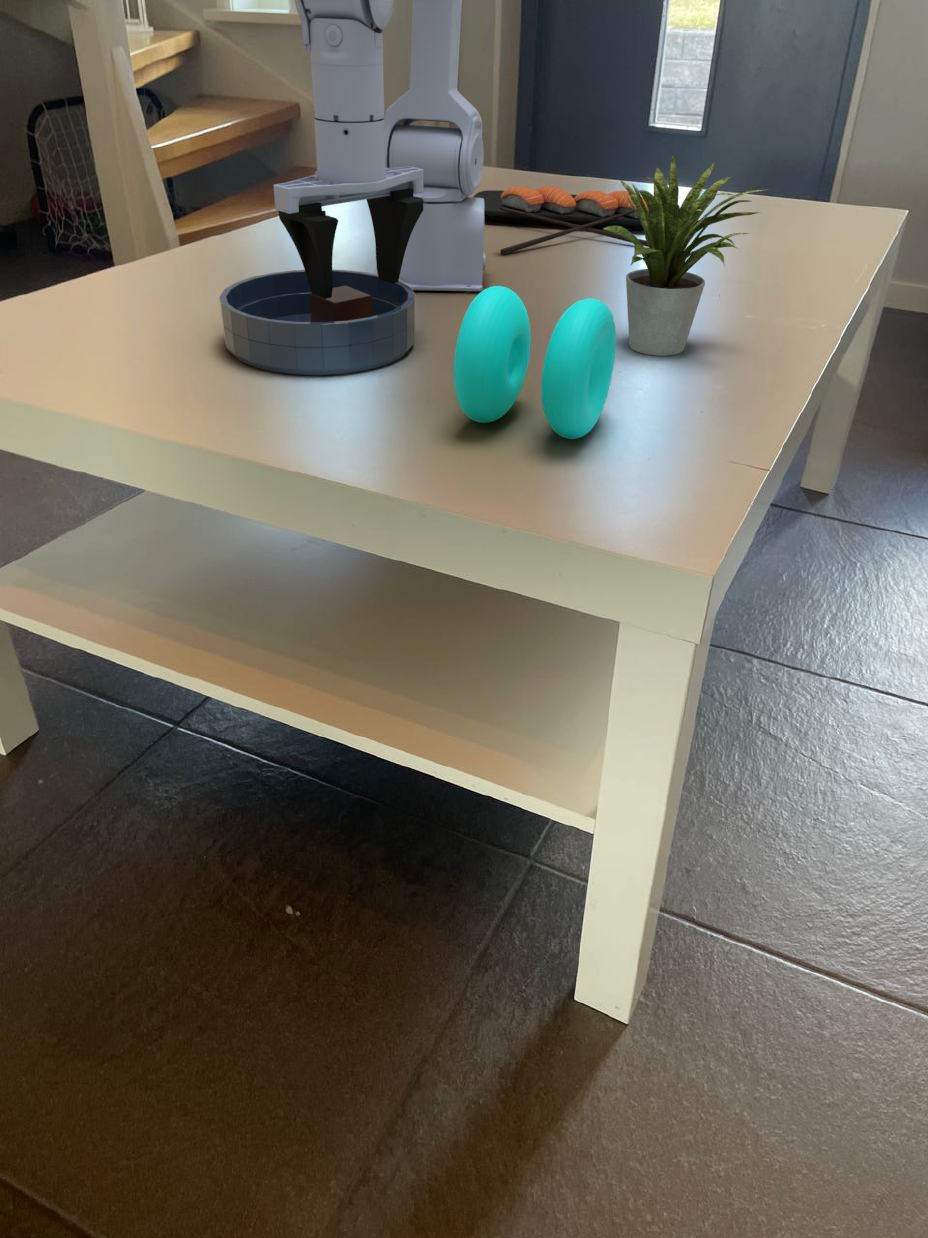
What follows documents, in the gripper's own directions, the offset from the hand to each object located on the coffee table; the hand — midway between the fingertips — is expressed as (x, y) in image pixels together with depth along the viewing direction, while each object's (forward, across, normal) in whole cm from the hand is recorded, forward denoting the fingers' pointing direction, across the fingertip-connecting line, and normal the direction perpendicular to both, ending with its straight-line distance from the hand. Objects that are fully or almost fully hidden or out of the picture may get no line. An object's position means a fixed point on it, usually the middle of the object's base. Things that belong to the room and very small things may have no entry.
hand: (355, 287), depth 87 cm
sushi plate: (+5, -50, -18) cm, 54 cm away
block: (+4, +1, -1) cm, 5 cm away
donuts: (+5, +2, +24) cm, 24 cm away
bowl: (+5, +2, -2) cm, 6 cm away
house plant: (+5, -20, +19) cm, 28 cm away
